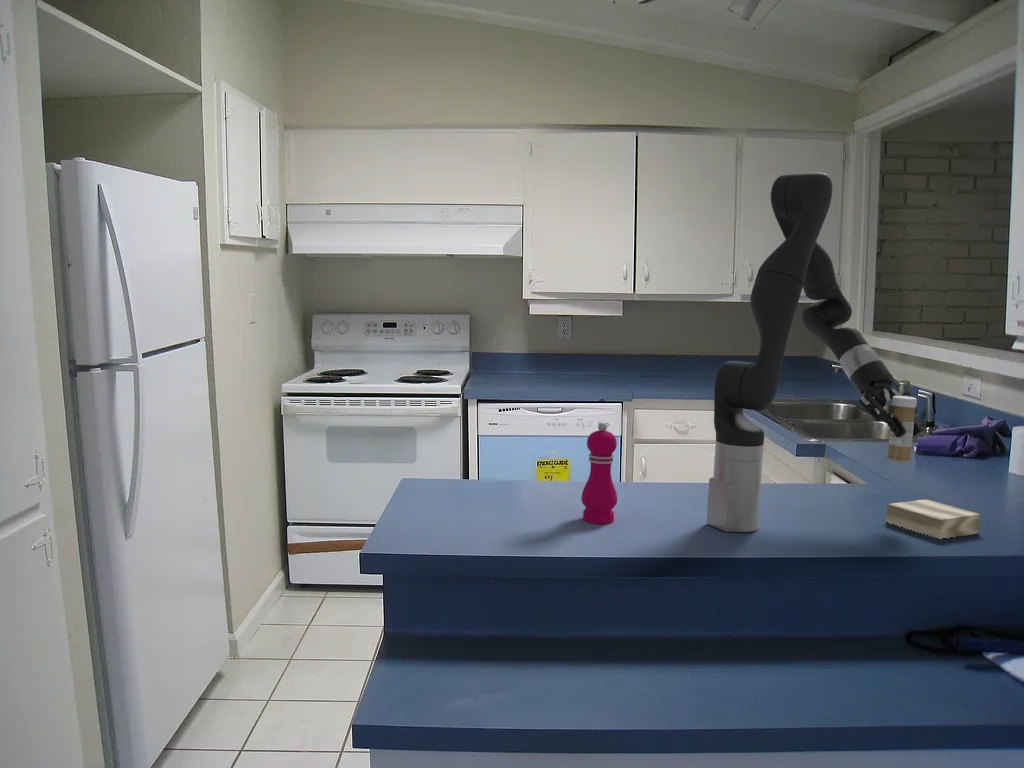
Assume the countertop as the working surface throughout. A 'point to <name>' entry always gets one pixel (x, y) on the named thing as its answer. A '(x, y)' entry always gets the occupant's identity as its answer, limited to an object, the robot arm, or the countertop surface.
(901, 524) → the wooden riser
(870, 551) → the countertop surface
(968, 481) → the countertop surface
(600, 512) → the pepper mill
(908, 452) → the sprinkles bottle
